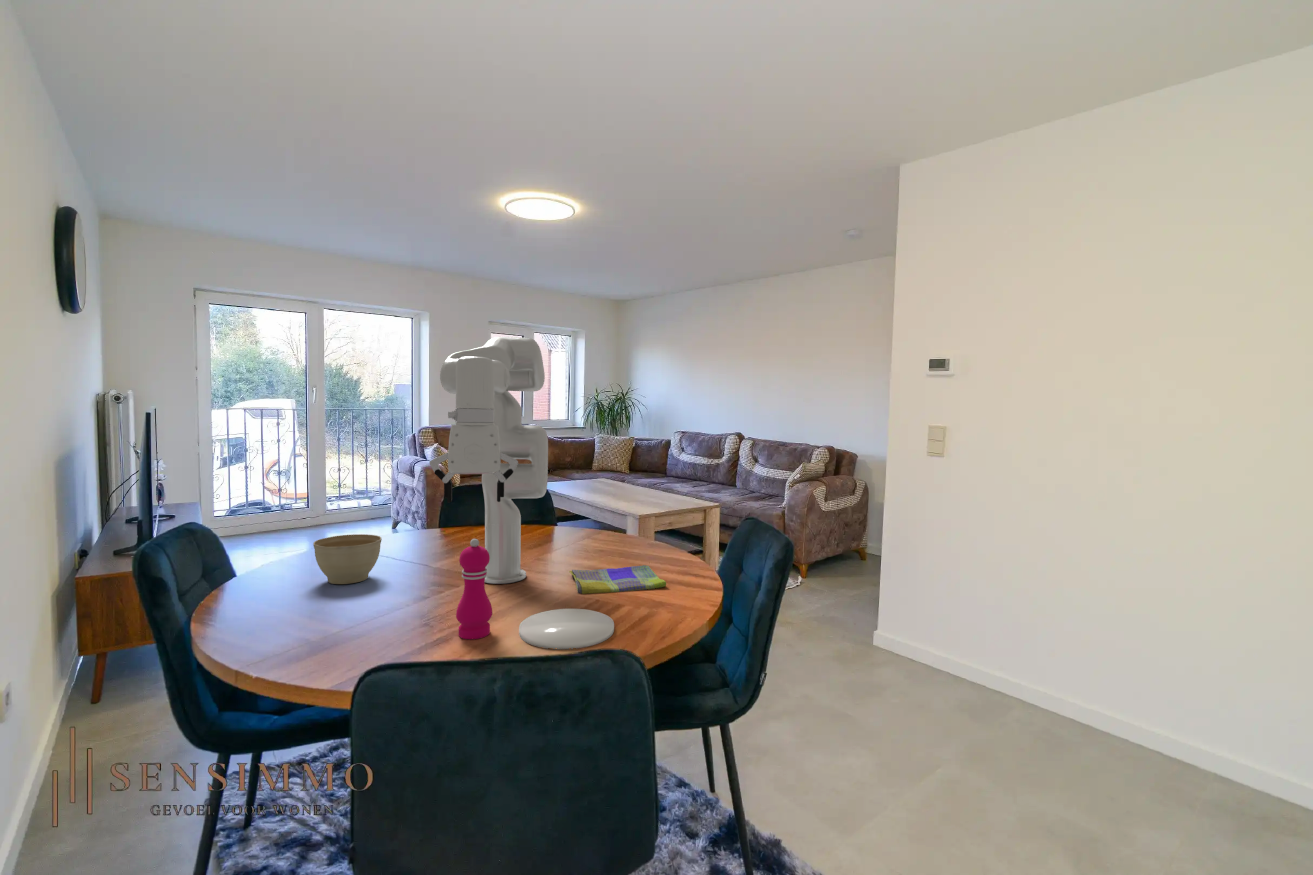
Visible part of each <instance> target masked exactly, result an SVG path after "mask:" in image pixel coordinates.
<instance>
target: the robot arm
mask: <svg viewBox="0 0 1313 875" xmlns="http://www.w3.org/2000/svg"><path fill="white" fill-rule="evenodd" d="M439 372H440V373H439V379H440V380H439V381H440V384H441V386H442V389H443V390H444V391H446V392H447V393H448V394H453V395H455V410H452V411H448V413H447V418H448V419H452V420H454V421H455V424H451V426H450V431H449V437H448V450H447V451H448V452H446V453H444V454H442V455H440V456H437V457H435V458H432V459H431V460H430V461H429V465H430V467H431V469H432V471H433V473H434V475H435V476H436V477H437V478H438V479H440V480H441V481H442V483H443V498H444V499H447V500H446V502H447V504H450V503H451V502H453V482H452V478H453V477H454V476H455V475H481V485H482V492H483V499H484V548H485V549H486V550H487V551H488V553H489V556H490V560H489V563H488V565H487V566H486V567H485V568H486V569H487V576H486V577H485V582H484V583H487V584H492V585H493V584H494V585H495V584H496V585H500V584H503V585H504V584H511V583H512V584H513V583H516V582H519V581H522V580H524V579H525V578H526V577H527V571H525V570H524V569H523V568H521V554H522V553H521V547H522V546H521V542H522V540H521V536H522V535H521V533H522V532H521V531H522V530H521V529H522V527H521V526H522V525H521V524H522V517H521V516H522V515H521V512H520V509H519V508H518V506H517V505H516V504H515V503H514V501H513V500H514V499H515V500H516V499H539V498H543V497H544V496H545V495H546V493H547V489H548V479H549V478H548V473H549V471H548V470H549V468H548V467H549V439H548V438H549V437H548V433H547V431H546V430H545V428H544V427H542V426H540V425H535V424H533V425H529V424H527V425H526V424H522V421H523V420H522V417H523V416H522V414H523V409H522V406H521V405H520V403H519V402H518V400H517V399H516V398H515V397H514V396H513V394H512V393H511V392H529V393H530V392H538V391H540V390H541V389H542V388H543V387H544V385H545V378H546V377H545V373H546V372H545V367H544V361H543V356H542V351H541V348H540V346H539V343H538V342H537V341H536V340H535V339H533V338H531V337H513V336H512V337H510V336H498V337H497V336H496V337H493V338H492V337H491V338H490V339H489V340H487V342H485V343H484V344H483V346H479V347H475V348H472V349H467V350H460V351H457V352H454V353H451V354H450V355H449V356H447V357H446V359H445V360H444V362H443V363H442V364H441V367H440V371H439ZM501 460H502V461H504V462H505V463H503V462H501ZM518 460H528V461H530V462H531V463H519V461H518ZM445 461H447V468H448V472H447V473H445V472H444V471H443V470H442V469H441V468H440V465H439V464H440V463H443V462H445ZM512 499H513V500H512Z"/></svg>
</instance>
